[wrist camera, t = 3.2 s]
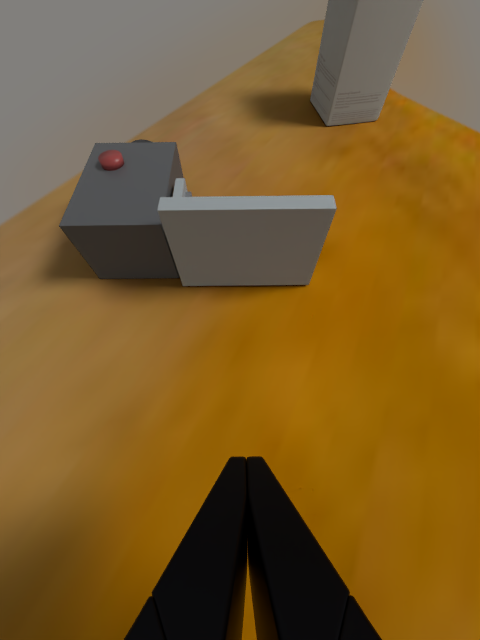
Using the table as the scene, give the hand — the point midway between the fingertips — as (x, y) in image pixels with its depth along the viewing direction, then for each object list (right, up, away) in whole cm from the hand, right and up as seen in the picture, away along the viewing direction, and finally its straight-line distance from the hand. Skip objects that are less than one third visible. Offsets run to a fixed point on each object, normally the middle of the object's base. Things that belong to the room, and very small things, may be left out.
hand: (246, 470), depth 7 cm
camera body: (-9, +13, +20) cm, 25 cm away
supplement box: (+14, +33, +30) cm, 47 cm away
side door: (0, +10, +18) cm, 20 cm away
